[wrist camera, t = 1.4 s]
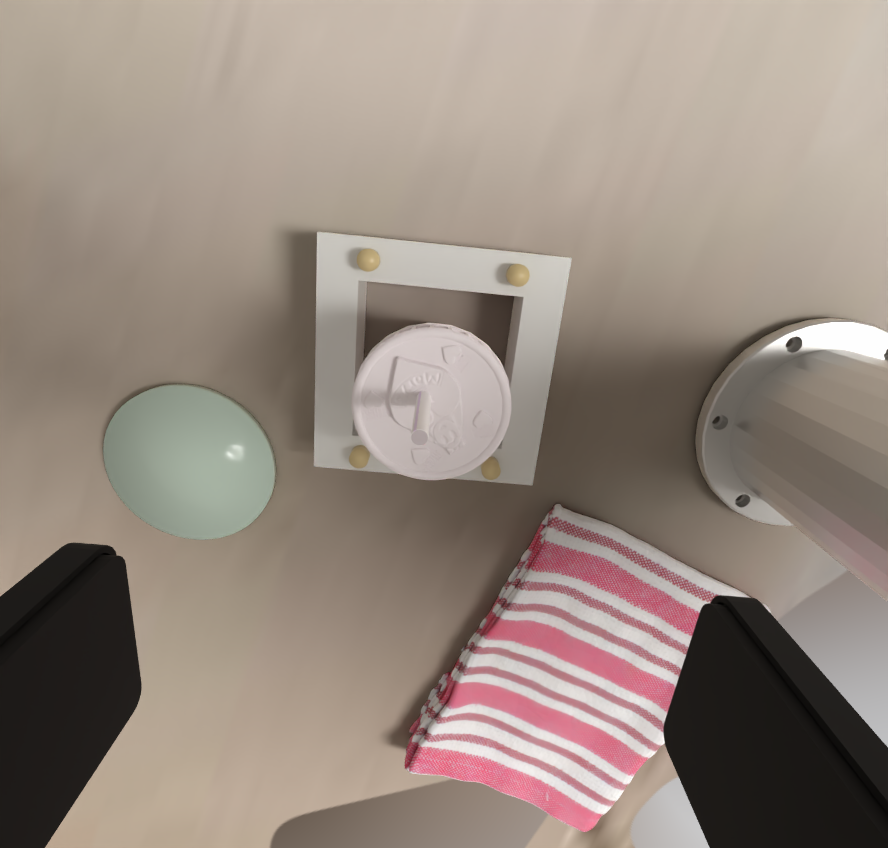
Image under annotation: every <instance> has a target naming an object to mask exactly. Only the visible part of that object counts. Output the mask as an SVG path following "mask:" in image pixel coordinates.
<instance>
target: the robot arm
mask: <svg viewBox="0 0 888 848" xmlns="http://www.w3.org/2000/svg"><path fill="white" fill-rule="evenodd" d="M714 418H715V420H714ZM695 443H696V455H697V460H698V464H699V467H700V470H701V473H702V475H703V477H704V479H705V480H706V482H707V484H708V485H709V487H710V489H711V490H712V491H713V492H714V493H715V494H716V495H717V496H718V497H719V498H720V499H721V500H722V501H723V502H724V503H725V504H726V505H727V506H729V507H730V508H731V509H732V510H733V511H735V512H737V513H739V514H741V515H742V516H744V517H746V518H748V519H750V520H753V521H757V522H761V523H764V524H768V525H777V526H795V527H796V528H798V529H799V530H800V531H801V532H803V533H804V534H805V535H806V536H807V537H809V538H810V539H811V540H812V541H814V542H815V543H816V544H817V545H818V546H820V547H821V548H822V549H823V550H825V551H826V552H827V553H828V554H829V555H831V556H832V557H833V558H834V559H836V560H837V561H838V562H839V563H840V564H842V565H843V566H844V567H845V568H847V569H848V570H849V571H850V572H852V573H853V574H854V575H855V576H857V577H858V578H859V579H860V580H862V581H863V582H864V583H865V584H866V585H867V586H869V587H870V588H871V589H872V590H873V591H875V592H876V593H877V594H879V595H880V596H881V597H882V598H883V599H885V600H886V601H887V602H888V331H886V330H883V329H881V328H879V327H877V326H875V325H872V324H867V323H863V322H859V321H854V320H848V319H838V318H823V319H812V320H806V321H803V322H799V323H795V324H792V325H788V326H785V327H783V328H781V329H779V330H777V331H774V332H772V333H770V334H768V335H766V336H764V337H763V338H761V339H760V340H758V341H757V342H755V343H754V344H752V345H751V346H749V347H748V348H746V349H745V350H744V351H743V352H742V353H741V354H739V355H738V356H737V357H736V358H735V359H734V360H733V361H732V362H731V363H730V364H729V365H728V366H727V367H726V368H725V370H724V371H723V372H722V374H721V375H720V376H719V377H718V379H717V380H716V381H715V383H714V384H713V386H712V388H711V390H710V392H709V394H708V395H707V397H706V399H705V401H704V403H703V407H702V410H701V413H700V416H699V419H698V423H697V430H696V438H695ZM140 695H141V677H140V670H139V662H138V654H137V647H136V639H135V631H134V624H133V616H132V609H131V601H130V593H129V586H128V578H127V570H126V564H125V560H124V559H123V557H121V556H117V555H116V552H115V550H114V549H113V548H112V547H111V546H108V545H97V544H84V543H68V544H66V545H64V546H63V547H61V548H60V549H59V550H58V551H56V552H55V553H54V554H53V555H51V556H50V557H49V558H48V559H46V560H45V561H44V562H43V563H41V564H40V565H39V566H38V567H36V568H35V569H34V570H33V571H32V572H30V573H29V574H28V575H27V576H25V577H24V578H23V579H22V580H20V581H19V582H18V583H17V584H15V585H14V586H13V587H12V588H10V589H9V590H8V591H7V592H5V593H4V594H3V595H2V596H0V848H45V847H46V845H47V844H48V842H49V840H50V839H51V837H52V836H53V834H54V833H55V831H56V830H57V828H58V827H59V825H60V824H61V822H62V821H63V819H64V818H65V816H66V815H67V813H68V811H69V810H70V808H71V807H72V805H73V804H74V802H75V801H76V799H77V798H78V796H79V795H80V793H81V792H82V790H83V789H84V787H85V786H86V784H87V782H88V781H89V779H90V778H91V776H92V775H93V773H94V772H95V770H96V769H97V767H98V766H99V764H100V763H101V761H102V760H103V758H104V757H105V755H106V753H107V752H108V750H109V749H110V747H111V746H112V744H113V743H114V741H115V740H116V738H117V737H118V735H119V734H120V732H121V731H122V729H123V728H124V726H125V725H126V723H127V721H128V720H129V718H130V717H131V715H132V714H133V712H134V710H135V709H136V707H137V704H138V702H139V698H140ZM663 734H664V741H665V745H666V748H667V751H668V753H669V756H670V758H671V760H672V762H673V765H674V767H675V769H676V772H677V774H678V776H679V778H680V781H681V783H682V785H683V787H684V790H685V792H686V794H687V796H688V799H689V801H690V804H691V806H692V808H693V810H694V813H695V815H696V817H697V820H698V822H699V824H700V826H701V829H702V831H703V833H704V835H705V838H706V840H707V842H708V845H709V847H710V848H888V747H887V746H886V745H885V744H884V743H883V742H882V741H881V739H880V738H879V737H878V736H877V735H876V734H875V733H874V731H873V730H872V729H871V728H870V727H869V726H868V724H867V723H866V722H865V721H864V720H863V719H862V718H861V716H859V714H858V713H857V712H856V711H855V710H854V708H853V707H852V706H851V705H850V704H849V703H848V702H847V701H846V699H845V698H844V697H843V696H842V695H841V694H840V692H839V691H838V690H837V689H836V688H835V687H834V686H833V684H832V683H831V682H830V681H829V680H828V679H827V678H826V676H825V675H824V674H823V673H822V672H821V671H820V670H819V668H818V667H817V666H816V665H815V664H814V663H813V662H812V660H811V659H810V658H809V657H808V656H807V655H806V654H805V652H804V651H803V650H802V649H801V648H800V647H799V645H798V644H797V643H796V642H795V641H794V640H793V639H792V638H791V636H790V635H789V634H788V633H787V632H786V631H785V629H784V628H783V627H782V626H781V625H780V624H779V623H778V621H777V620H776V619H775V618H774V617H773V616H772V615H771V613H770V612H769V611H768V610H767V609H766V608H765V607H764V605H763V604H762V603H761V602H759V601H758V600H757V599H754V598H749V597H737V596H724V595H719V596H715V597H714V598H713V599H712V601H711V603H708V604H705V605H703V606H702V608H701V610H700V613H699V616H698V619H697V623H696V626H695V629H694V632H693V635H692V638H691V641H690V644H689V647H688V650H687V654H686V657H685V660H684V663H683V666H682V669H681V672H680V675H679V678H678V681H677V685H676V688H675V691H674V694H673V697H672V700H671V703H670V706H669V709H668V712H667V716H666V719H665V722H664V727H663Z"/></svg>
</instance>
